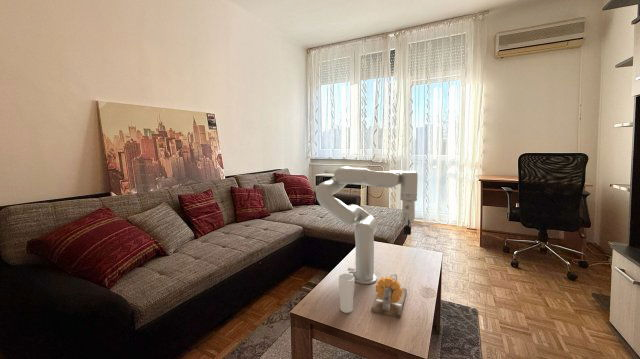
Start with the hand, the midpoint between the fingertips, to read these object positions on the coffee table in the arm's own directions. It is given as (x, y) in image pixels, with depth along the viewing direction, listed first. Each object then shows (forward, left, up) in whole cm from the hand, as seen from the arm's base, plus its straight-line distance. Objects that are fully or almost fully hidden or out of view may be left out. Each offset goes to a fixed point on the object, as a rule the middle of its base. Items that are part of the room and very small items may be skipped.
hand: (407, 234), depth 135 cm
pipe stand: (-5, -16, -27) cm, 32 cm away
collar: (-5, -20, -25) cm, 33 cm away
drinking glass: (-21, -30, -27) cm, 46 cm away
